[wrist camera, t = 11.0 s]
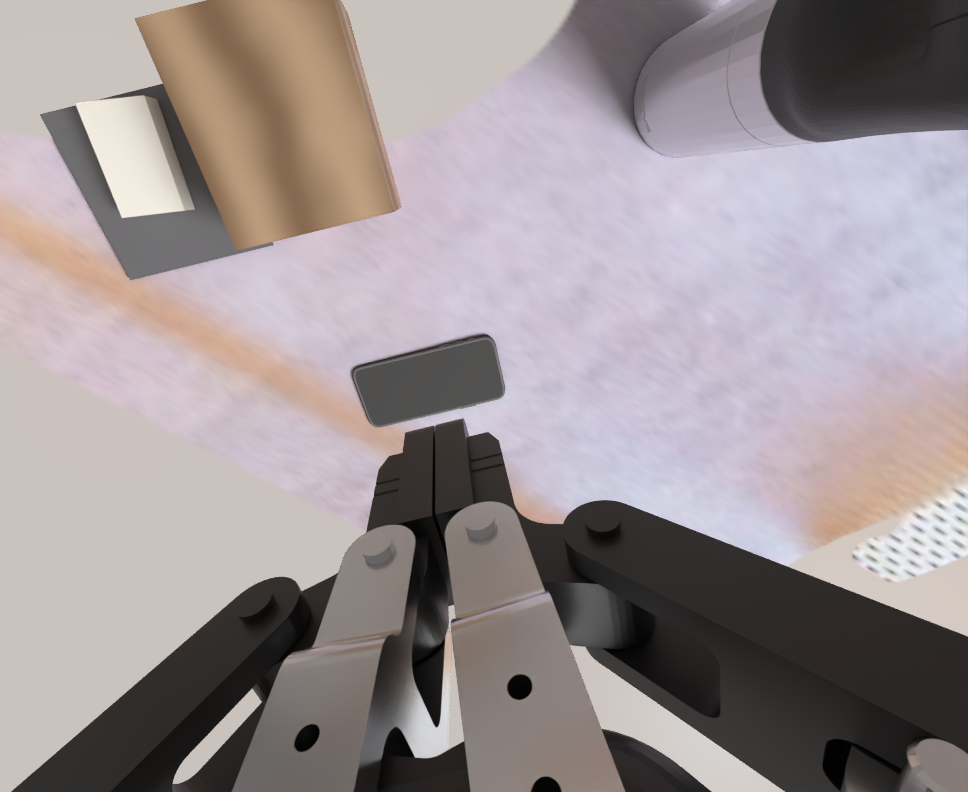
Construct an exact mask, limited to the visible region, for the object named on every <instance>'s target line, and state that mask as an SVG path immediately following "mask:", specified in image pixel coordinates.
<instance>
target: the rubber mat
mask: <svg viewBox="0 0 968 792" xmlns="http://www.w3.org/2000/svg"><path fill="white" fill-rule="evenodd" d="M142 95H145V96H148V97H151V98H155V99H157V100H158V103H159V106H160V109H161V112H162V115H163V118H164V121H165V124H166V126H167V129H168V132H169V135H170V138H171V141H172V144H173V147H174V150H175V153H176V156H177V158H178V161H179V164H180V167H181V170H182V173H183V176H184V179H185V182H186V185H187V188H188V190H189V193H190V196H191V199H192V202H193V205H194V208H195V210H187V211H178V212H170V213H161V214H153V215H144V216H136V217H127V218H122V217H121V215H120V212H119V210H118V207H117V205H116V202H115V200H114V198H113V195H112V193H111V190H110V188H109V185H108V183H107V180H106V178H105V176H104V173H103V171H102V168H101V166H100V163H99V161H98V158H97V156H96V153H95V151H94V149H93V146H92V144H91V141H90V139H89V136H88V134H87V131H86V129H85V127H84V124H83V122H82V119H81V117H80V114H79V112H78V109H77V107H76V106H72V107H68V108H64V109H60V110H56V111H53V112H48V113H44V114H41V115H40V116H41V117H42V119H43V121H44V123H45V125H46V127H47V128H48V130H49V132H50V134H51V136H52V138H53V139H54V141H55V143H56V145H57V147H58V149H59V150H60V152H61V154H62V156H63V158H64V160H65V161H66V163H67V165H68V167H69V169H70V171H71V172H72V174H73V176H74V178H75V180H76V182H77V183H78V185H79V187H80V189H81V191H82V193H83V194H84V196H85V198H86V200H87V202H88V203H89V205H90V207H91V209H92V211H93V213H94V214H95V216H96V218H97V220H98V222H99V224H100V225H101V227H102V229H103V231H104V233H105V235H106V236H107V238H108V240H109V242H110V244H111V246H112V247H113V249H114V251H115V253H116V255H117V257H118V258H119V260H120V262H121V264H122V266H123V267H124V269H125V271H126V273H127V275H128V277H129V278H130V280H133V279H137V278H141V277H146V276H150V275H154V274H158V273H162V272H166V271H170V270H174V269H178V268H182V267H186V266H190V265H194V264H198V263H202V262H206V261H210V260H214V259H218V258H222V257H227V256H231V255H235V254H239V253H243V252H247V251H251V250H255V249H259V248H263V247H267V246H271V245H273V243H272V242H270V243H266V244H262V245H258V246H254V247H250V248H246V249H242V250H238V251H236V249H235V247H234V245H233V242H232V240H231V238H230V235H229V233H228V231H227V229H226V226H225V224H224V222H223V219H222V217H221V215H220V213H219V210H218V208H217V206H216V203H215V201H214V199H213V197H212V194H211V192H210V190H209V187H208V185H207V183H206V181H205V178H204V176H203V174H202V171H201V169H200V167H199V165H198V162H197V160H196V158H195V155H194V153H193V151H192V149H191V146H190V144H189V142H188V139H187V137H186V135H185V133H184V130H183V128H182V126H181V123H180V121H179V119H178V117H177V114H176V112H175V110H174V107H173V105H172V103H171V101H170V98H169V96H168V94H167V91H166V89H165V87H164V85H163V84H160V85H156V86H152V87H148V88H144V89H140V90H136V91H132V92H128V93H124V94H121V95H116V96H112V97H109V98H104V99H100V100H105V99H114V98H123V97H132V96H142Z"/></svg>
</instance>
